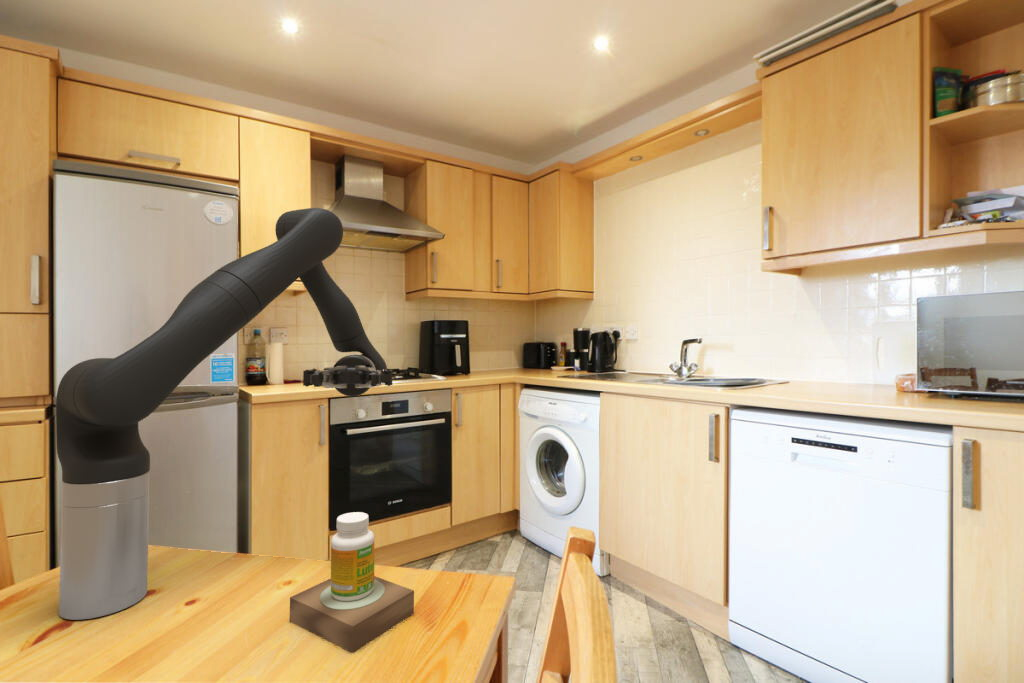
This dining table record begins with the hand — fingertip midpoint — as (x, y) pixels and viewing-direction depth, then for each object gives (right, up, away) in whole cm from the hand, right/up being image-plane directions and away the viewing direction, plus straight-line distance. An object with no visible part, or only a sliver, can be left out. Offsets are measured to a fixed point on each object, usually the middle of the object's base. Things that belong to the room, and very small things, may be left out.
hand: (345, 379), depth 76 cm
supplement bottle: (+5, -27, -13) cm, 30 cm away
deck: (+5, -30, -13) cm, 33 cm away
